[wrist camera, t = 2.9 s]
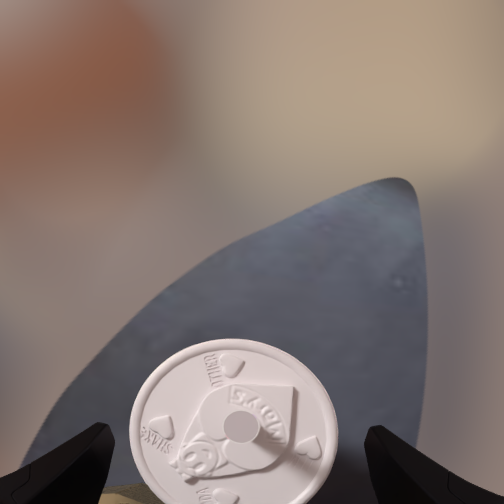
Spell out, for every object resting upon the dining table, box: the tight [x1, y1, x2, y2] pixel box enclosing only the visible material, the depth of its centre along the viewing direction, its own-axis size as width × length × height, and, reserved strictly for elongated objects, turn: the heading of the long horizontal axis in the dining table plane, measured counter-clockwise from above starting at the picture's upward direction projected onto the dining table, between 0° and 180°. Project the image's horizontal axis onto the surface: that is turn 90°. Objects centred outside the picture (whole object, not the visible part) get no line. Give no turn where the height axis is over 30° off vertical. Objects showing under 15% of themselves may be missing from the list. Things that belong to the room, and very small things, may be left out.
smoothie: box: [129, 339, 338, 504], centre depth 9 cm, size 6×6×14 cm
